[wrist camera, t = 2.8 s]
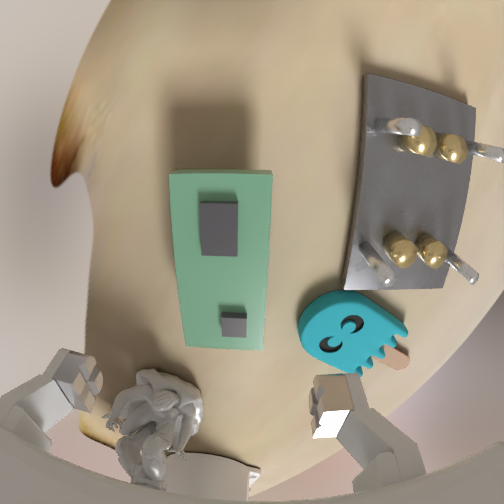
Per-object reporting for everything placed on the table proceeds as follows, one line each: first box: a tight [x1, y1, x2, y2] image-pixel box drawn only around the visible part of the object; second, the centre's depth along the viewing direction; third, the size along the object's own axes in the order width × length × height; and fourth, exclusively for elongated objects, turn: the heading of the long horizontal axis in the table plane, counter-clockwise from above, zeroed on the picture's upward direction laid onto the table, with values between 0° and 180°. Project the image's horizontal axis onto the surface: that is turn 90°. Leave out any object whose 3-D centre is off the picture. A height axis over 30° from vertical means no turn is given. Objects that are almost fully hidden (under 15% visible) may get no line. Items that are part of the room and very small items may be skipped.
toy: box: [298, 290, 410, 377], centre depth 24 cm, size 7×2×15 cm
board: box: [169, 169, 273, 350], centre depth 17 cm, size 12×6×2 cm, turn 178°
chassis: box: [341, 74, 504, 290], centre depth 16 cm, size 16×10×6 cm, turn 179°
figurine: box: [102, 368, 204, 492], centre depth 22 cm, size 18×13×18 cm
